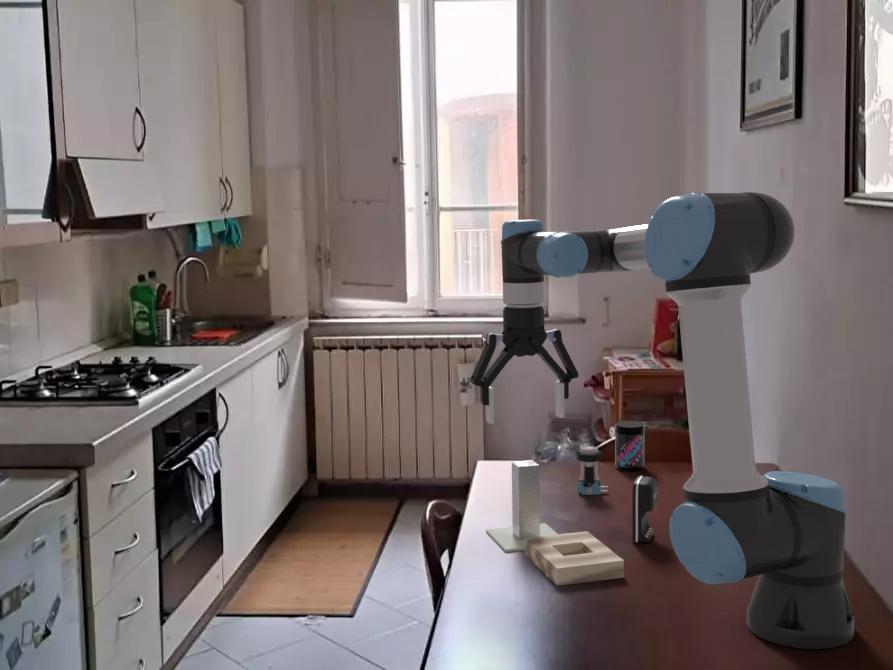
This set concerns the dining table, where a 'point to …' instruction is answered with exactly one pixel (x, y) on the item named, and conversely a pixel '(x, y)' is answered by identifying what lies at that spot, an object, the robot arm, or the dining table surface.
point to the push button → (589, 471)
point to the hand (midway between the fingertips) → (525, 419)
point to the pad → (511, 542)
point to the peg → (525, 499)
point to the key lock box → (643, 507)
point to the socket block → (574, 558)
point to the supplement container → (629, 445)
